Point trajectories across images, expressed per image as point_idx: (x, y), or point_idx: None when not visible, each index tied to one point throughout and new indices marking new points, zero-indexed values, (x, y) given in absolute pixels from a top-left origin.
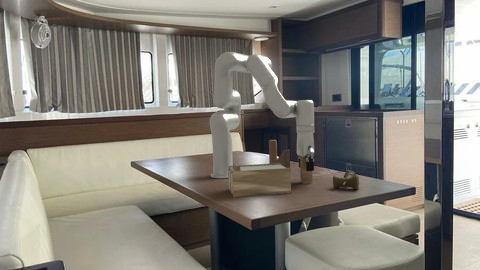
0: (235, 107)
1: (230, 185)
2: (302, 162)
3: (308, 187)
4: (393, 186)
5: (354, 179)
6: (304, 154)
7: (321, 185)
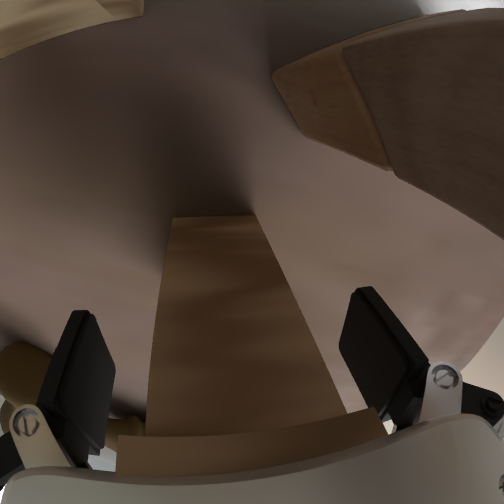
0: None
1: None
2: (171, 368)
3: (41, 225)
4: (98, 463)
5: (2, 421)
6: (3, 495)
7: (99, 317)
